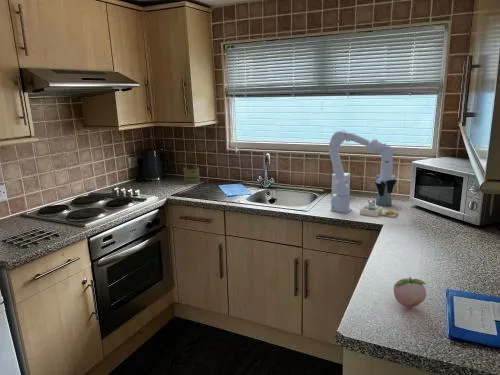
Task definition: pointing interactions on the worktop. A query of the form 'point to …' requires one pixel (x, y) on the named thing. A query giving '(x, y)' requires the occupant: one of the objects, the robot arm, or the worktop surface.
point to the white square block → (334, 186)
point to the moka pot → (385, 199)
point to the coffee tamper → (371, 205)
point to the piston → (191, 176)
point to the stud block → (389, 214)
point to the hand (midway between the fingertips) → (385, 194)
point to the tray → (371, 211)
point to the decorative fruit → (409, 292)
